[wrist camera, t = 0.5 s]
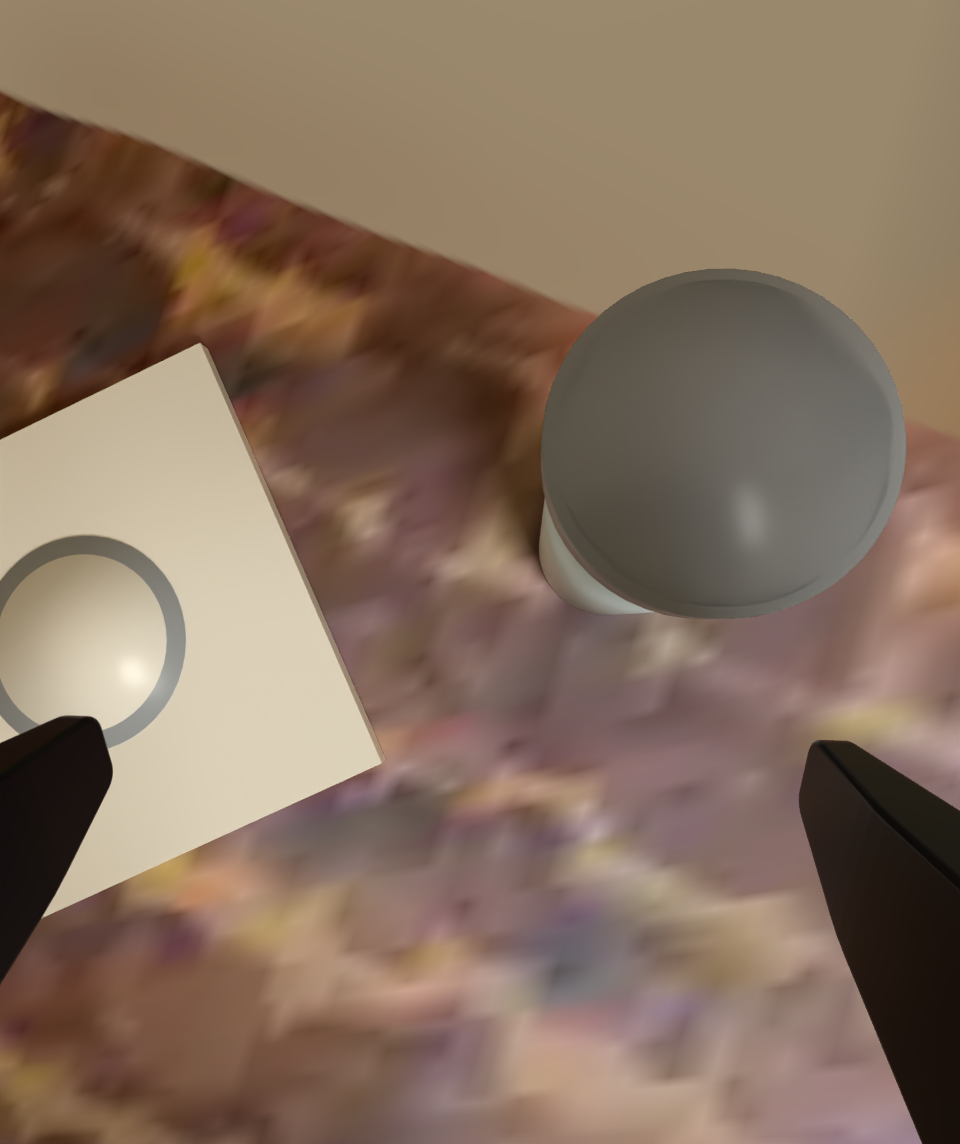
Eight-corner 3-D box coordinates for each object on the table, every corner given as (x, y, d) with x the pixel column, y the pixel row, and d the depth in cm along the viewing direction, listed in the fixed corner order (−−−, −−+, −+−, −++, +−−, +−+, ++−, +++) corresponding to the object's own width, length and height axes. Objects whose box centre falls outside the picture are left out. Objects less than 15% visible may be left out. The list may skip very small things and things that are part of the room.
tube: (623, 647, 23) (771, 691, 9) (507, 565, 23) (473, 485, 9) (704, 531, 23) (978, 393, 9) (587, 452, 23) (672, 204, 9)
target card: (385, 759, 23) (381, 763, 22) (-28, 947, 24) (-45, 957, 23) (207, 349, 25) (198, 341, 24) (-176, 535, 25) (-197, 533, 24)
